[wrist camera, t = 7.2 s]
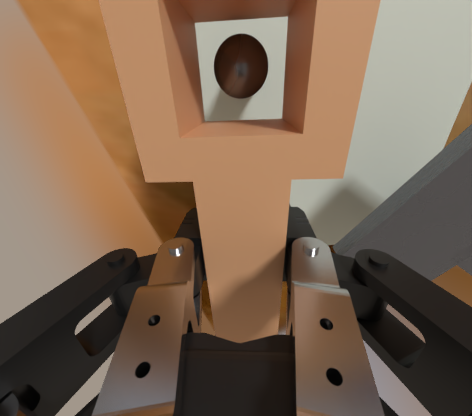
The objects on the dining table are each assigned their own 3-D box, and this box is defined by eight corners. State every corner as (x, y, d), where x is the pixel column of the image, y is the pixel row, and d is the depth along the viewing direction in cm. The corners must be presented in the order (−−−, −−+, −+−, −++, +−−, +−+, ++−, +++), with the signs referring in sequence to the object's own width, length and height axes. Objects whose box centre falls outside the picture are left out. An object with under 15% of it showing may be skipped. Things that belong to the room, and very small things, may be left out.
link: (292, 285, 14) (306, 349, 11) (202, 284, 14) (188, 346, 11) (331, -39, 7) (417, -174, 3) (152, -24, 7) (65, -132, 4)
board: (178, -25, 12) (173, -34, 11) (509, -52, 11) (532, -64, 10) (210, 238, 20) (208, 245, 19) (395, 237, 19) (402, 244, 18)
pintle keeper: (227, 60, 13) (211, 35, 7) (495, 46, 12) (733, 1, 6) (236, 232, 20) (231, 295, 14) (413, 231, 19) (493, 298, 13)
